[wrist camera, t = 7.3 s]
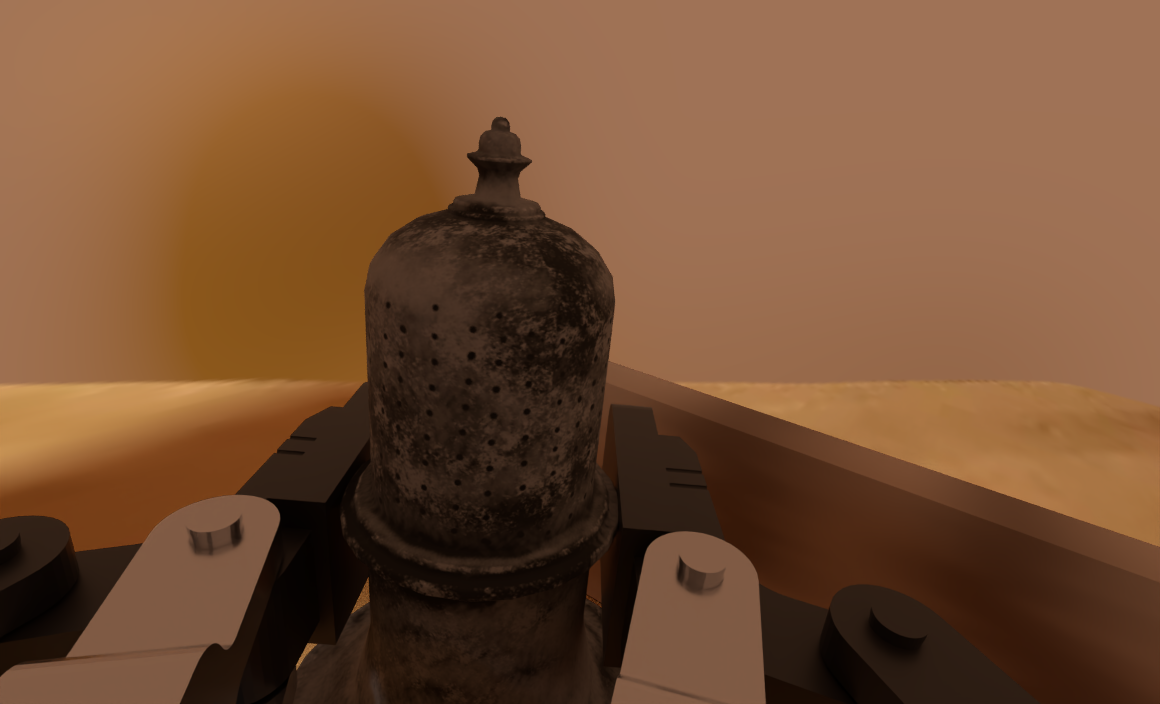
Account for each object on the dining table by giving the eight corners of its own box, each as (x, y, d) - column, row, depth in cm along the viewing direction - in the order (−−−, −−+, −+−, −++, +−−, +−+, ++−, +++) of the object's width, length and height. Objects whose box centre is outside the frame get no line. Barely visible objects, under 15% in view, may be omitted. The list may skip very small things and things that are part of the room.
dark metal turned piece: (536, 659, 14) (584, 124, 10) (709, 927, 10) (930, 159, 6) (260, 781, 11) (159, 82, 7) (325, 1258, 7) (150, 84, 2)
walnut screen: (437, 539, 23) (436, 342, 20) (515, 490, 26) (523, 315, 23) (1105, 969, 12) (1307, 681, 9) (1090, 792, 16) (1235, 542, 13)
